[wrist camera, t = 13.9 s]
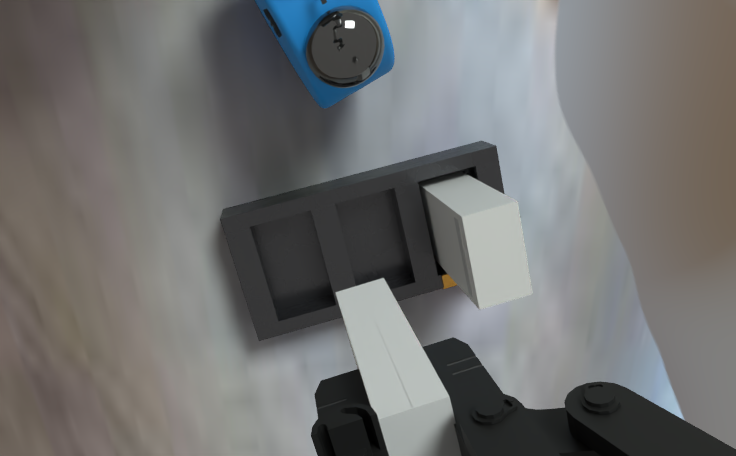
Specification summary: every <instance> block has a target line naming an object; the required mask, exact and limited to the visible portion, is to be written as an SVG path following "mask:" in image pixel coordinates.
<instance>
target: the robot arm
mask: <svg viewBox="0 0 736 456" xmlns="http://www.w3.org/2000/svg"><path fill="white" fill-rule="evenodd" d="M335 293H336V296H337V300H338V303H339V307H340V310H341V313H342V317H343V320H344V324H345V327H346V331H347V334H348V337H349V341H350V344H351V348H352V351H353V355H354V358H355V361H356V365H357V368H358V369H357V370H354V371H350V372H347V373H344V374H341V375H338V376H335V377H332V378H328V379H325V380H322V381H321V382H320V384H319V386H318V388H317V390H316V393H315V400H316V407H317V413H318V420H317V421H316V422H315V424H314V425H313V427H312V432H311V437H312V440H313V443H314V446H315V449H316V452H317V455H318V456H736V449H734V448H732V447H731V446H729V445H727V444H725V443H723V442H722V441H720V440H718V439H716V438H715V437H713V436H711V435H709V434H707V433H706V432H704V431H702V430H700V429H699V428H697V427H695V426H693V425H691V424H690V423H688V422H686V421H684V420H683V419H681V418H679V417H677V416H675V415H674V414H672V413H670V412H668V411H667V410H665V409H663V408H661V407H659V406H658V405H656V404H654V403H652V402H651V401H649V400H647V399H645V398H643V397H642V396H640V395H638V394H636V393H635V392H633V391H631V390H629V389H627V388H625V387H623V386H620V385H618V384H615V383H608V382H593V383H586V384H584V385H581V386H578V387H576V388H575V389H573V390H572V391H571V392H569V393H568V395H567V397H566V399H565V407H566V408H557V409H546V410H535V409H527V408H525V407H524V406H523V405H522V403H520V402H519V401H518V400H517V399H516V398H514V397H511V396H508V395H505V394H503V393H502V391H501V390H500V389H499V387H498V386H497V384H496V383H495V382H494V380H493V379H492V377H491V376H490V375H489V373H488V372H487V370H486V369H485V368H484V366H482V364H481V362H480V361H479V359H478V358H477V357H476V356H475V354H474V352H473V351H472V350H471V348H470V347H469V345H468V344H466V343H464V342H462V341H460V340H458V339H456V338H454V337H453V338H450V339H447V340H444V341H440V342H437V343H434V344H431V345H428V346H425V347H422V346H421V344H420V342H419V341H418V339H417V337H416V335H415V333H414V332H413V330H412V328H411V326H410V324H409V323H408V321H407V319H406V317H405V315H404V314H403V312H402V310H401V308H400V306H399V305H398V303H397V301H396V299H395V297H394V296H393V294H392V292H391V290H390V288H389V286H388V285H387V283H386V281H385V279H384V278H381V279H378V280H375V281H371V282H368V283H365V284H361V285H358V286H355V287H351V288H348V289H345V290H342V291H338V292H335Z"/></svg>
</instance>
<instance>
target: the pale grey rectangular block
mask: <svg viewBox="0 0 736 456" xmlns="http://www.w3.org/2000/svg"><path fill="white" fill-rule="evenodd" d="M418 184H419V189H420V194H421V199H422V203H423V208H424V213H425V217H426V222H427V227H428V232H429V236H430V241H431V246H432V251H433V255H434V259H435V260H436V261H437V262H438V263H439V265H440V266H441V267H442V268H443V269H444V270H445V271H446V272H447V274H448V275H449V276H450V277H451V278H452V279H453V280H454V282H455V283H456V284H457V285H458V286H459V287H460V288H461V289H462V291H463V292H464V293H465V294H466V295H467V296H468V297H469V298H470V300H471V301H472V302H473V303H474V304H475V305H476V306H477V307H478V309H479V310H481V309H484V308H488V307H491V306H494V305H498V304H501V303H505V302H508V301H511V300H515V299H518V298H522V297H525V296H528V295H532V294H533V293H532V287H531V281H530V275H529V268H528V262H527V256H526V250H525V244H524V237H523V231H522V225H521V219H520V213H519V206H518V201H516V200H514V199H512V198H510V197H509V196H507V195H505V194H503V193H501V192H499V191H497V190H495V189H493V188H492V187H490V186H488V185H486V184H484V183H482V182H480V181H478V180H477V179H475V178H473V177H471V176H469V175H467V174H465V173H463V172H458V173H454V174H451V175H447V176H443V177H439V178H436V179H432V180H428V181H425V182H421V183H418Z"/></svg>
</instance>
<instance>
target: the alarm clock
mask: <svg viewBox="0 0 736 456" xmlns="http://www.w3.org/2000/svg"><path fill="white" fill-rule="evenodd" d="M255 2H256V4H257V5H258V7H259V9H260V11H261V13H262V14H263V16H264V18H265V20H266V21H267V23H268V25H269V27H270V28H271V30H272V32H273V33H274V35H275V37H276V39H277V40H278V42H279V44H280V45H281V47H282V49H283V51H284V52H285V54H286V56H287V57H288V59H289V61H290V62H291V64H292V66H293V67H294V69H295V71H296V72H297V74H298V75H299V77H300V79H301V80H302V82H303V83H304V85H305V86H306V88H307V90H308V91H309V93H310V94H311V96H312V97H313V98H314V100H315V101H316V102H317V104H318V105H319V106H320V107H322V108H329V107H330V106H332V105H334V104H335V103H337V102H339V101H340V100H342V99H344V98H346V97H347V96H349V95H351V94H352V93H354V92H356V91H357V90H359V89H361V88H362V87H364V86H366V85H368V84H369V83H371V82H373V81H374V80H376V79H378V78H379V77H381V76H383V75H384V74H386V73H388V72H389V71H390V70H391V69H392V67H393V65H394V49H393V44H392V40H391V36H390V33H389V30H388V27H387V24H386V21H385V19H384V16H383V13H382V11H381V8H380V6H379V3H378V1H377V0H255Z"/></svg>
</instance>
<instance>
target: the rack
mask: <svg viewBox="0 0 736 456" xmlns="http://www.w3.org/2000/svg"><path fill="white" fill-rule="evenodd" d="M458 172H463V173H465V174H467V175H469V176H471V177H473V178H475V179H477V180H478V181H480V182H482V183H484V184H486V185H488V186H490V187H492V188H493V189H495V190H497V191H499V192H501V193H503V194H504V189H503V183H502V177H501V171H500V165H499V160H498V154H497V148H496V146H495V145H492V144H490V143H487V142H484V141H479V142H476V143H472V144H468V145H464V146H460V147H457V148H453V149H449V150H445V151H442V152H438V153H434V154H430V155H426V156H423V157H419V158H415V159H411V160H407V161H404V162H400V163H396V164H392V165H389V166H385V167H381V168H377V169H373V170H370V171H366V172H362V173H358V174H355V175H351V176H347V177H343V178H339V179H336V180H332V181H328V182H324V183H321V184H317V185H313V186H309V187H305V188H302V189H298V190H294V191H290V192H287V193H283V194H279V195H275V196H271V197H268V198H264V199H260V200H256V201H253V202H249V203H245V204H241V205H237V206H234V207H230V208H226V209H223V211H222V215H221V219H220V220H221V223H222V226H223V229H224V232H225V235H226V239H227V242H228V245H229V248H230V251H231V254H232V257H233V261H234V264H235V267H236V270H237V273H238V276H239V279H240V282H241V286H242V289H243V292H244V295H245V298H246V301H247V304H248V308H249V311H250V314H251V317H252V320H253V323H254V326H255V330H256V333H257V336H258V339H259V341H261V340H264V339H268V338H271V337H274V336H278V335H281V334H285V333H288V332H292V331H295V330H299V329H302V328H306V327H309V326H313V325H316V324H320V323H323V322H327V321H330V320H334V319H337V318H340V317H342V313H341V310H340V307H339V303H338V300H337V296H336V293H335V292H338V291H342V290H345V289H348V288H351V287H355V286H358V285H361V284H365V283H368V282H371V281H375V280H378V279H381V278H384V279H385V281H386V283H387V285H388V286H389V288H390V290H391V292H392V294H393V296H394V297H395V299H396V301H399V300H403V299H406V298H410V297H413V296H417V295H420V294H424V293H427V292H431V291H434V290H438V289H441V288H443V289H446V288H449V287H453V286H456V285H457V284H456V283H455V282H454V280H453V279H452V278H451V277H450V276H449V275H448V274H447V272H446V271H445V270H444V269H443V268H442V267H441V266H440V265H439V263H438V262H437V261H436V260H435V259H434V255H433V251H432V246H431V241H430V236H429V232H428V227H427V222H426V217H425V213H424V208H423V203H422V199H421V194H420V189H419V184H418V183H421V182H425V181H428V180H432V179H436V178H439V177H443V176H447V175H451V174H454V173H458Z"/></svg>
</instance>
